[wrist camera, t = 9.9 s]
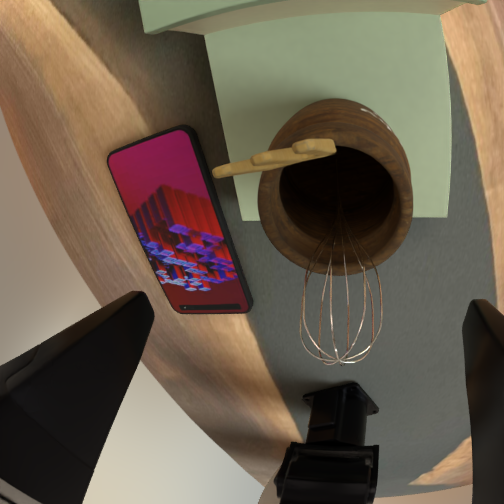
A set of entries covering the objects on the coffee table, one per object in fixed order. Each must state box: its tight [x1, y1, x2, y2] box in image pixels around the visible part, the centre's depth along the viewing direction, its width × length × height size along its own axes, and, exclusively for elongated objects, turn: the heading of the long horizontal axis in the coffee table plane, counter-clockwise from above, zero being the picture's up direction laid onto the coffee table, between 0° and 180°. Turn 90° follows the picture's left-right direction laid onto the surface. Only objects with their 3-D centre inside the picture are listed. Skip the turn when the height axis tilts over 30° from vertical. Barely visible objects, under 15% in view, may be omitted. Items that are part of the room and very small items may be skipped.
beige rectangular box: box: [138, 0, 487, 221], centre depth 12 cm, size 16×12×8 cm
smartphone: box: [107, 125, 253, 314], centre depth 23 cm, size 8×1×15 cm
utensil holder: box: [212, 98, 413, 366], centre depth 10 cm, size 6×6×12 cm
